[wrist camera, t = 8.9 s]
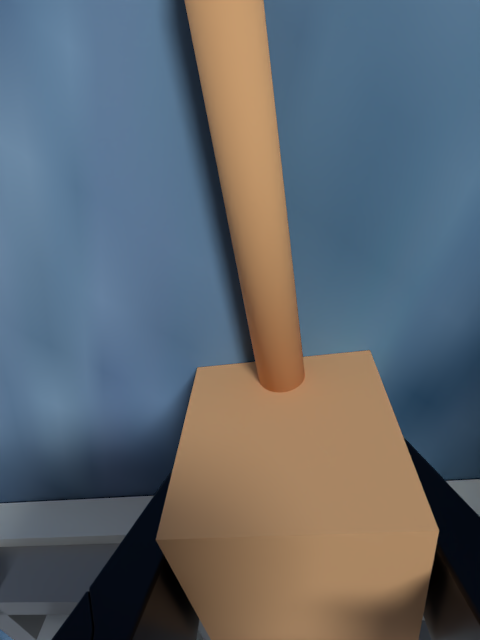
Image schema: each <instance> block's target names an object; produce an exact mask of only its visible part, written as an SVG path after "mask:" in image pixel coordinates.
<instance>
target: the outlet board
mask: <svg viewBox="0 0 480 640" xmlns="http://www.w3.org/2000/svg"><path fill="white" fill-rule="evenodd" d="M446 482H447V483H448V484H449V485H450V486H451V487H452V488H453V489H454V490H455V491H456V492H457V493H458V494H459V495H460V497H461V498H462V499H463V500H464V501H465V502H466V503H467V504H468V505H469V506H470V507H471V508H472V509H473V510H474V511H475V512H476V513H477V514H478V515H479V516H480V479H473V480H454V481H446ZM152 498H153V496H138V497H118V498H98V499H78V500H59V501H39V502H19V503H0V629H1V630H2V631H3V632H5V633H6V634H7V635H9V636H10V637H11V638H12V639H14V640H37V638H38V635H39V633H40V630H41V628H42V625H43V623H44V621H45V618H46V616H47V615H70V613H71V612H72V611H73V609H74V608H75V607H76V605H77V604H78V602H79V601H80V599H81V598H82V597H83V595H84V594H85V592H86V591H89V587H90V586H91V584H92V583H93V581H94V580H95V578H96V577H97V576H98V574H99V573H100V571H101V570H102V568H103V567H104V566H105V564H106V563H107V561H108V560H109V559H110V557H111V556H112V554H113V553H114V551H115V550H116V549H117V547H118V546H119V544H120V543H121V542H122V540H123V539H124V537H125V536H126V534H127V533H128V532H129V530H130V529H131V527H132V526H133V525H134V523H135V522H136V520H137V519H138V517H139V516H140V515H141V513H142V512H143V510H144V509H145V508H146V506H147V505H148V503H149V502H150V500H151V499H152ZM422 620H425V619H424V617H423V618H422ZM198 630H199V632H200V633H201V635H202V637H203V639H204V640H211V639H210V637H209V636H208V634H207V632H206V630H205V628H204V627H203V625H202V623H201V621H200V620H199V627H198Z"/></svg>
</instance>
